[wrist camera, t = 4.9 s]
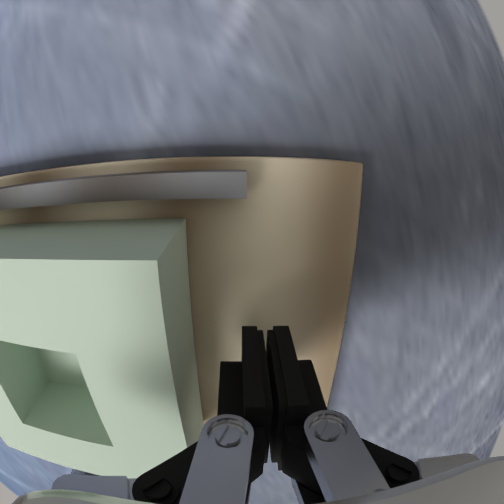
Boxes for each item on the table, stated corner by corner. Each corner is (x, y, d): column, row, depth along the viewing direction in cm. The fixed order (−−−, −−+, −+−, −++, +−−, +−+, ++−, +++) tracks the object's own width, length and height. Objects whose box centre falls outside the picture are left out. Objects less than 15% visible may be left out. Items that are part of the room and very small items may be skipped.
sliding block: (185, 218, 10) (157, 260, 7) (203, 422, 14) (197, 489, 10) (-21, 226, 10) (-80, 256, 6) (35, 397, 13) (7, 445, 9)
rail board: (351, 161, 11) (449, 182, 5) (314, 423, 16) (336, 514, 10) (-90, 198, 10) (-153, 225, 4) (-36, 377, 15) (-74, 425, 9)
